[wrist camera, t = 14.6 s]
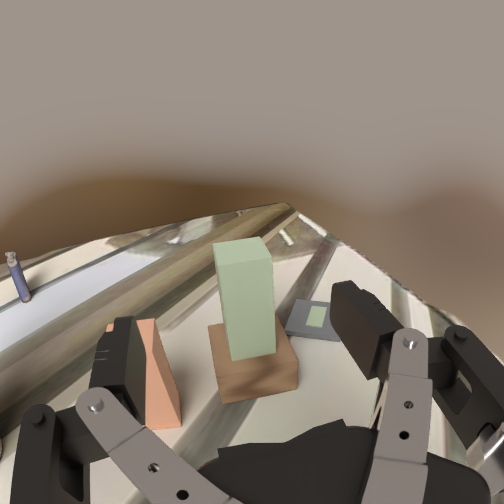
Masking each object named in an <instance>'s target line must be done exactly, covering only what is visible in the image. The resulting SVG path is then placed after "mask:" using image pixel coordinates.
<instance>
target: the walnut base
mask: <svg viewBox="0 0 504 504" xmlns="http://www.w3.org/2000/svg"><path fill="white" fill-rule="evenodd" d="M208 331H209V337H210V343H211V349H212V356H213V361H214V367H215V373H216V378H217V383H218V387H219V392H220V396H221V400H222V404H227V403H233V402H238V401H243V400H249V399H254V398H259V397H263V396H268V395H273V394H277V393H282V392H286V391H290V390H294V389H297V384H298V359H297V356H296V354H295V352H294V350H293V348H292V346H291V344H290V341H289V339H288V337H287V335H286V333H285V331H284V329H283V326H282V324H281V322H280V320H279V318H278V316H277V314H275V337H276V353H272V354H267V355H262V356H257V357H252V358H247V359H242V360H236V361H232V359H231V355H230V351H229V347H228V342H227V338H226V334H225V327H224V323H223V324H217V325H210V326H208Z"/></svg>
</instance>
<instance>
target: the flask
mask: <svg viewBox="0 0 504 504" xmlns="http://www.w3.org/2000/svg"><path fill="white" fill-rule="evenodd" d="M5 255H7V256H8V259H7V265H8V268H9V270H10V273H11V275H12V278H13V281H14V283H15V286H16V288H17V291H18V294H19V296H20V298H21V300H22V302H24V303H27V302H28V301H30V300H31V295H30V292H29V290H28V285H27V283H26V280H25V277H24V275H23V271H22V269H21V266H20V263H19V261H18V258H17V254H16V253H14V252H12V253H11V252H8V254H7V253H6V254H5ZM26 301H27V302H26Z"/></svg>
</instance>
